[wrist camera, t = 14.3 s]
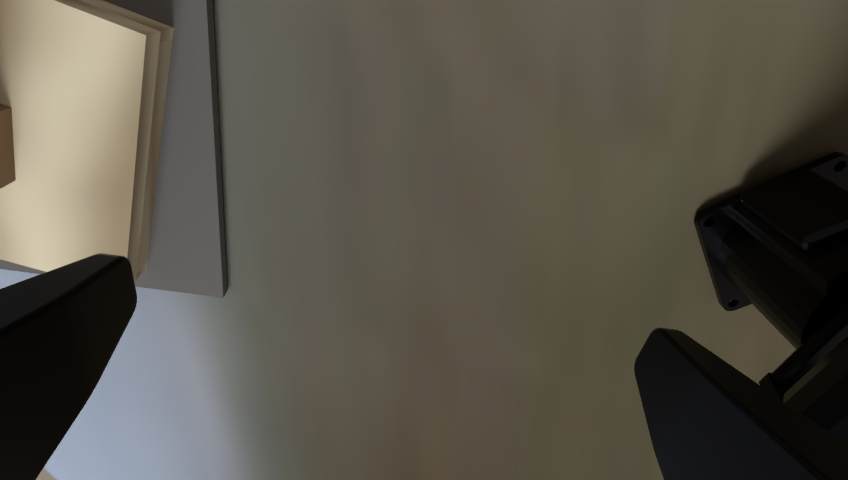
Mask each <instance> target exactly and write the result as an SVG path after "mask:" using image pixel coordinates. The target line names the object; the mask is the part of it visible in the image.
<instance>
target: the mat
mask: <svg viewBox="0 0 848 480" xmlns="http://www.w3.org/2000/svg"><path fill="white" fill-rule="evenodd" d="M103 1H106V2H109V3H111V4H114V5H116V6H119V7H121V8H124V9H127V10H129V11H132V12H134V13H137V14H139V15H142V16H144V17H147V18H150V19H152V20H155V21H157V22H160V23H162V24H165V25H168V26H170V27H173V28H174V30H173V39H172V48H171V57H170V65H169V74H168V83H167V92H166V101H165V110H164V119H163V128H162V137H161V146H160V155H159V164H158V173H157V182H156V190H155V199H154V208H153V217H152V226H151V235H150V244H149V253H148V262H147V268H146V269H145V270H144V272H143V273H142V274H141V275H140V276H139V277H138V278H137V279H136V281H135V282H134V283H135V286H137V287H145V288H153V289H161V290H168V291H176V292H184V293H192V294H199V295H207V296H215V297H222V298H223V297H224V295H225V294H226V292H227V272H226V252H225V233H224V213H223V193H222V173H221V153H220V133H219V114H218V94H217V74H216V54H215V34H214V14H213V0H103ZM0 269H6V270H14V271H21V272H29V273H37V274H43V273H46V272H45V271H41V270H38V269H34V268H30V267H27V266H23V265H19V264H16V263H12V262H8V261H5V260H1V259H0Z"/></svg>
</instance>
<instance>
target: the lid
mask: <svg viewBox="0 0 848 480" xmlns="http://www.w3.org/2000/svg"><path fill="white" fill-rule="evenodd" d="M173 30H174V28H173V27H170V26H168V25H165V24H162V23H160V22H157V21H155V20H152V19H150V18H147V17H144V16H142V15H139V14H137V13H134V12H132V11H129V10H127V9H124V8H121V7H119V6H116V5H114V4H111V3H109V2H106V1H103V0H0V259H1V260H5V261H8V262H12V263H16V264H19V265H23V266H27V267H30V268H34V269H38V270H41V271H45V272H48V271H51V270H54V269H57V268H59V267H62V266H65V265H68V264H70V263H73V262H76V261H78V260H81V259H84V258H87V257H89V256H92V255H95V254H99V253H104V254H112V255H119V256H124V257H126V258H128V259H129V261H130V263H131V266H132V272H133V277H134V282H135V281H136V279H137V278H138V277H139V276H140V275H141V274H142V273H143V272H144V270H145V269H146V268H147V262H148V253H149V244H150V235H151V226H152V217H153V208H154V199H155V190H156V182H157V173H158V164H159V155H160V146H161V137H162V128H163V119H164V110H165V101H166V92H167V83H168V74H169V65H170V57H171V48H172V39H173Z"/></svg>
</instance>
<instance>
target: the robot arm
mask: <svg viewBox="0 0 848 480" xmlns="http://www.w3.org/2000/svg"><path fill="white" fill-rule="evenodd" d="M838 162H839V163H838ZM836 163H838V164H837V166H835V164H836ZM834 166H835V167H834ZM708 218H711V219H710V220H709V221H708V222H707V223H704V222H705V220H707V219H708ZM694 224H695V227H696V230H697V233H698V237H699V240H700V243H701V246H702V250H703V253H704V256H705V259H706V262H707V266H708V269H709V272H710V275H711V278H712V282H713V285H714V288H715V291H716V294H717V298H718V301H719V303H720V305H721V306H722V307H723V308H724V309H725V310H727V311H733V310H737V309H739V308H742V307H744V306H747V305H750V304H753V305H754V306H755V307H756V308H757V309H758V310H759V311H760V312H761V313H762V314H763V316H764V317H765V318H766V319H767V320H768V321H769V322H770V323H771V324H772V325H773V326H774V327H775V328H776V329H777V330H778V331H779V332H780V333H781V334H782V335H783V336H784V337H785V338H786V339H787V340H788V341H789V342H790V343H791V344H792V345H793V346H794V347H795V348H796V350H795V351H794V352H793V353H792V354H791V355H790V356H789V357H788V358H787V359H786V360H785V361H784V362H783V363H782V364H781V365H780V366H779V367H778V368H777V369H776V370H774V371H773V372H772V373H768V374H767V375H766V376H764V377H763V378H762V379H761V380H760V381H759V384H760V385H758V384H757V383H756V382H754V381H753V380H751V379H750V378H748V377H747V376H745V375H744V374H742V373H741V372H740V371H738V370H737V369H735V368H734V367H732V366H731V365H729V364H728V363H726V362H725V361H724V360H722V359H721V358H719V357H718V356H716V355H715V354H713V353H712V352H711V351H709V350H708V349H706V348H705V347H703V346H702V345H700V344H699V343H697V342H696V341H695V340H693V339H692V338H690V337H689V336H687V335H686V334H684V333H683V332H681V331H679V330H674V329H666V328H656V329H654V330H653V331H652V332H651V334H650V335H649V337H648V339H647V341H646V342H645V344H644V346H643V348H642V349H641V351H640V353H639V355H638V356H637V358H636V361H635V366H634V371H635V377H636V381H637V385H638V389H639V393H640V397H641V401H642V405H643V409H644V413H645V417H646V421H647V425H648V429H649V433H650V437H651V440H652V444H653V448H654V451H655V454H656V457H657V460H658V463H659V466H660V469H661V472H662V475H663V478H664V480H848V155H846V154H843V153H841V152H835V153H832V154H829V155H827V156H825V157H822V158H820V159H818V160H816V161H813V162H811V163H809V164H807V165H804V166H802V167H800V168H797V169H795V170H793V171H791V172H788V173H786V174H784V175H782V176H779V177H777V178H775V179H772V180H770V181H768V182H766V183H763V184H761V185H759V186H757V187H754V188H752V189H750V190H747V191H745V192H743V193H741V194H738V195H736V196H734V197H732V198H729V199H727V200H725V201H722V202H720V203H718V204H716V205H713V206H711V207H709V208H707V209H704V210H702V211H701V212H699V213H698V214H697V215H696V216H695V219H694ZM731 300H732V301H731ZM730 301H731V302H730ZM136 303H137V294H136V289H135V283H134V277H133V272H132V266H131V263H130V261H129V259H128V258H126V257H124V256H119V255H112V254H104V253H99V254H95V255H92V256H89V257H87V258H84V259H81V260H78V261H76V262H73V263H70V264H68V265H65V266H62V267H59V268H57V269H54V270H51V271H48V272H46V273H43V274H40V275H38V276H35V277H32V278H29V279H27V280H24V281H21V282H18V283H16V284H13V285H10V286H8V287H5V288H2V289H0V480H36V478H37V476H38V475H39V474H40V472H41V470H42V469H43V468H44V466H45V464H46V463H47V461H48V460H49V458H50V457H51V455H52V454H53V452H54V451H55V449H56V448H57V446H58V445H59V443H60V442H61V440H62V439H63V437H64V436H65V434H66V433H67V431H68V430H69V428H70V427H71V425H72V423H73V422H74V420H75V419H76V417H77V416H78V414H79V413H80V411H81V410H82V408H83V407H84V405H85V404H86V402H87V400H88V399H89V397H90V396H91V394H92V392H93V390H94V389H95V387H96V385H97V383H98V381H99V379H100V377H101V375H102V374H103V372H104V370H105V368H106V366H107V364H108V362H109V360H110V358H111V356H112V354H113V352H114V350H115V348H116V346H117V344H118V342H119V340H120V338H121V336H122V334H123V332H124V330H125V329H126V327H127V325H128V323H129V321H130V319H131V317H132V315H133V313H134V311H135V308H136Z"/></svg>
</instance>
